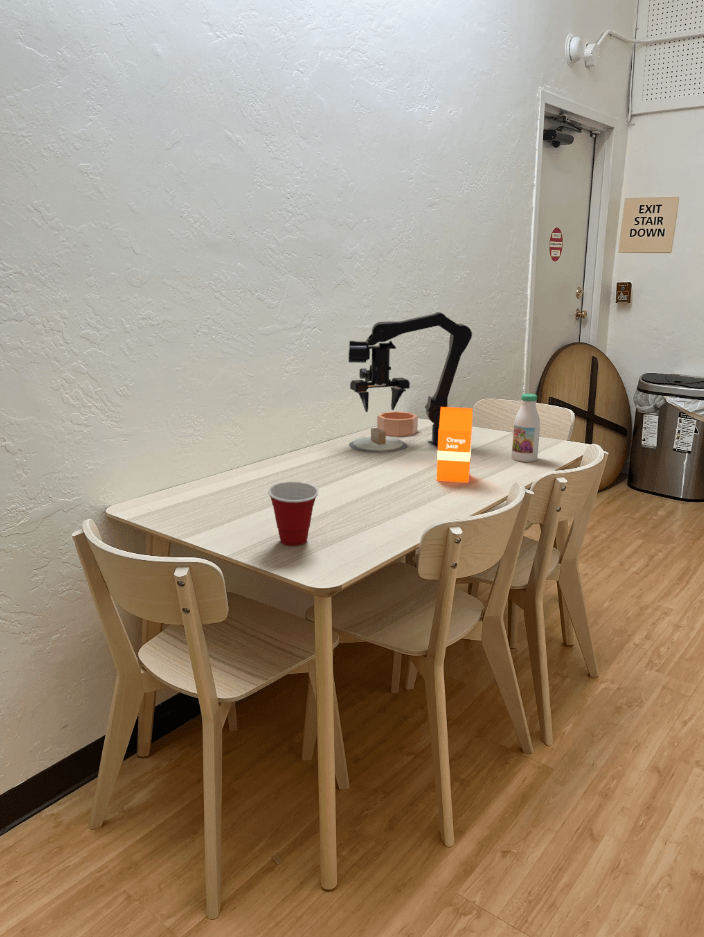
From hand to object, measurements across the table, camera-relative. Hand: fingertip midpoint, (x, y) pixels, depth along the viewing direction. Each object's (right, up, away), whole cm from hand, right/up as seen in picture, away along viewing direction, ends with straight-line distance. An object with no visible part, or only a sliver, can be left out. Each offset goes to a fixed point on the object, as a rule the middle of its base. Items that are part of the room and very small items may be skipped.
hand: (379, 410), depth 231 cm
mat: (0, -11, +2) cm, 11 cm away
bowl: (+7, -6, +19) cm, 21 cm away
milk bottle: (+44, -16, -12) cm, 48 cm away
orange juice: (+19, -21, -31) cm, 42 cm away
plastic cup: (-21, -35, -76) cm, 86 cm away
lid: (0, -11, +2) cm, 11 cm away
